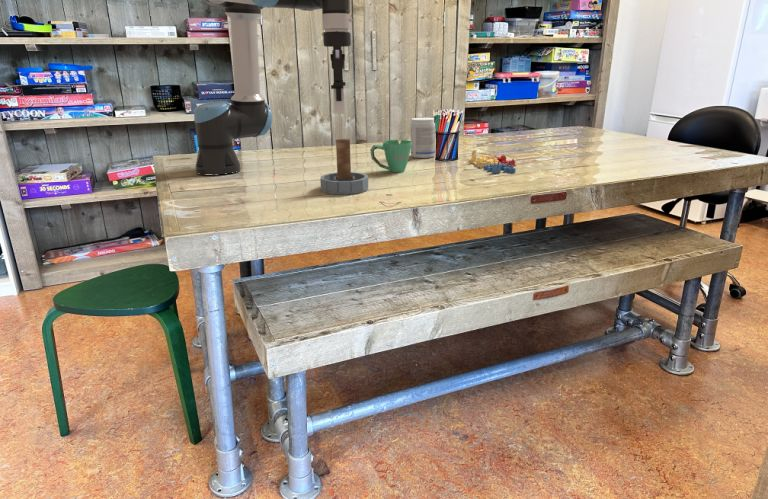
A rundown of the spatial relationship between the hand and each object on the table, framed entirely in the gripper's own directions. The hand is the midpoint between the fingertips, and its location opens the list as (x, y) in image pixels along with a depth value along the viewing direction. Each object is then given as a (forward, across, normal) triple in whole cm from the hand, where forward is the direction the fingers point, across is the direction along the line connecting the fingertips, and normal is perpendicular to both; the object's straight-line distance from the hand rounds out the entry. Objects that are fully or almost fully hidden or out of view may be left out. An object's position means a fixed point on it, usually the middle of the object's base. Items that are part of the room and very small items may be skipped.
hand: (339, 111), depth 155 cm
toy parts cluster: (+23, +37, -54) cm, 70 cm away
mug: (+23, +24, -17) cm, 37 cm away
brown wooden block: (+22, -1, -1) cm, 22 cm away
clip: (+23, -1, -1) cm, 23 cm away
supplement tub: (+23, +52, -32) cm, 65 cm away
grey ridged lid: (+23, -1, -1) cm, 23 cm away
